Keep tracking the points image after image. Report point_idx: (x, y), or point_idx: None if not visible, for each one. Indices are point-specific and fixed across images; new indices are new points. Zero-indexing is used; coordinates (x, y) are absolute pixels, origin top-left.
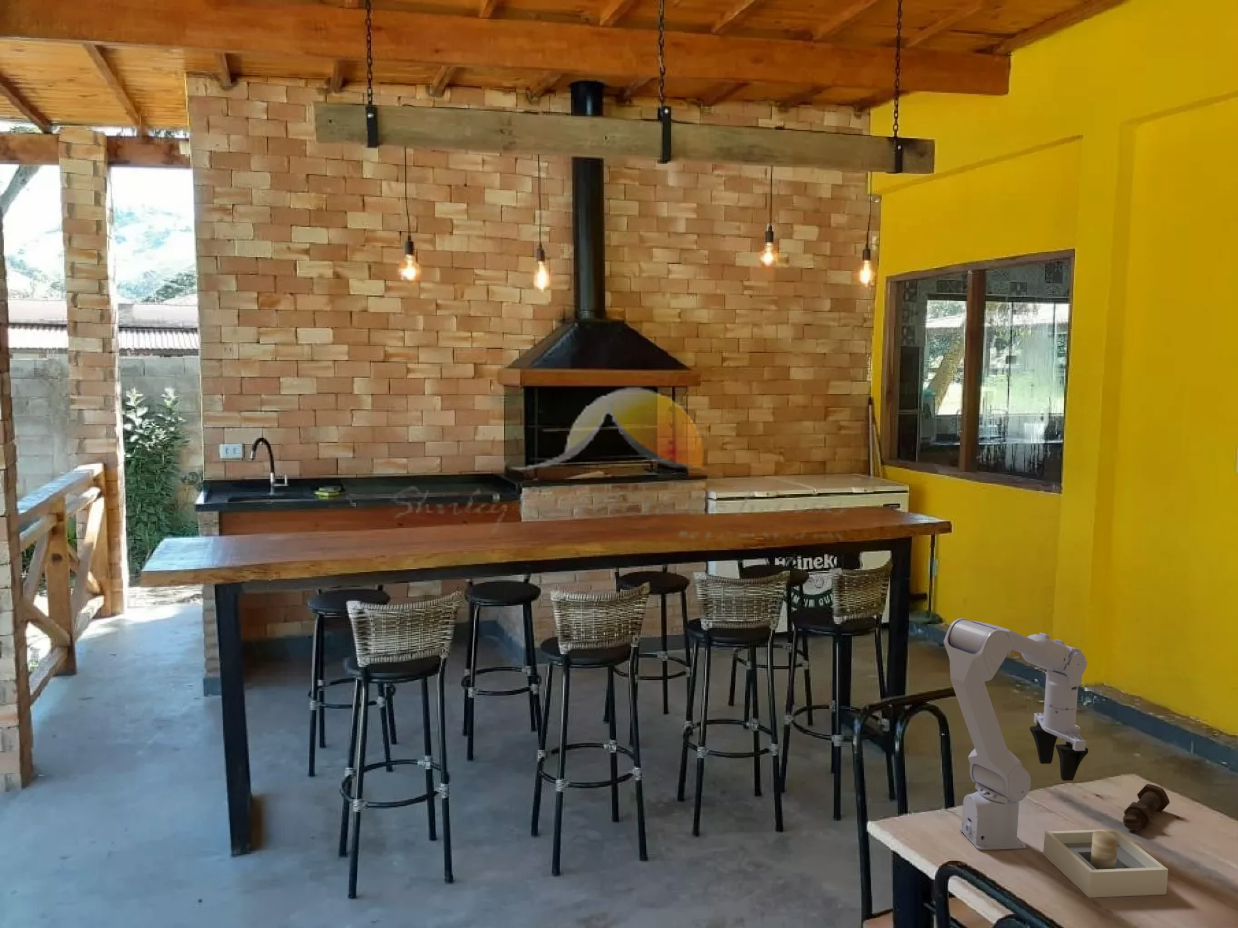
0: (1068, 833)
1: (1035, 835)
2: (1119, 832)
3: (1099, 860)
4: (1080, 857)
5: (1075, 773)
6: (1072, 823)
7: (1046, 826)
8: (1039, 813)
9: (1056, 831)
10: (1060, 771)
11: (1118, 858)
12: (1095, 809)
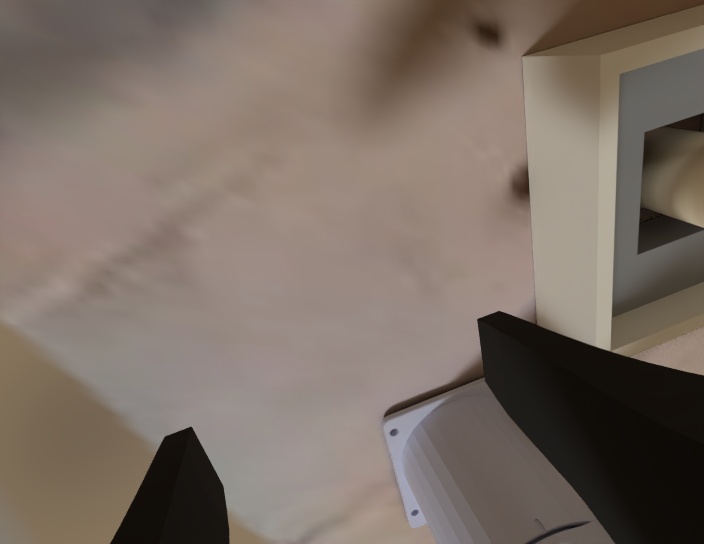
0: (609, 290)
1: (414, 330)
2: (632, 52)
3: None
4: (665, 252)
5: (545, 329)
6: (281, 163)
7: (335, 281)
8: (212, 289)
9: (599, 332)
10: (529, 433)
11: (695, 112)
12: None
